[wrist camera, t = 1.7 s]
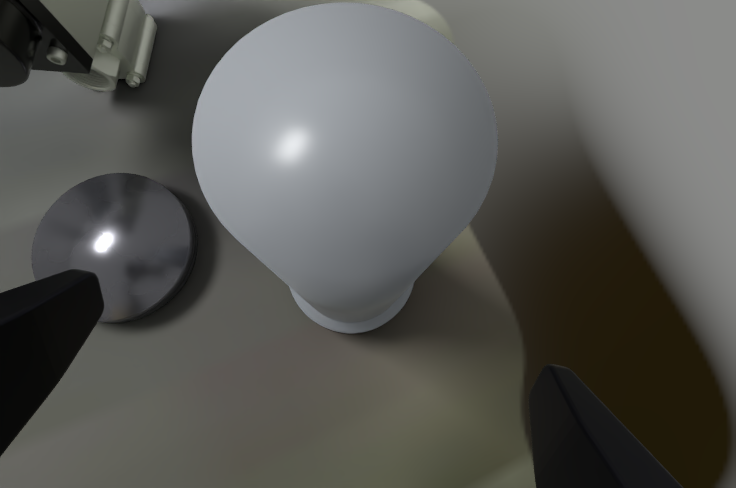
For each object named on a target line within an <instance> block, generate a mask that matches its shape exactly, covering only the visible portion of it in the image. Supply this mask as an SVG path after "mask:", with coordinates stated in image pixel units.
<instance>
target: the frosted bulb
mask: <svg viewBox="0 0 736 488" xmlns="http://www.w3.org/2000/svg"><path fill="white" fill-rule="evenodd" d="M497 148H498V135H497V123H496V118H495V114H494V109H493V105H492V103H491V100H490V97H489V94H488V92H487V89H486V88H485V86H484V84H483V82H482V80H481V78H480V76H479V74H478V73H477V71H476V70H475V68H474V67H473V66H472V64H471V63H470V61H469V60H468V59H467V58H466V57H465V56H464V55H463V53H462V52H461V51H460V50H459V49H458V48H457V47H456V46H455V45H454V44H453V43H452V42H450V41H449V40H448V39H447V38H446V37H445V36H443V35H442V34H441V33H439V32H438V31H436V30H435V29H433V28H432V27H430V26H429V25H427V24H425V23H423V22H421V21H419V20H417V19H415V18H413V17H411V16H409V15H406V14H403V13H401V12H398V11H395V10H392V9H388V8H384V7H380V6H376V5H369V4H362V3H342V2H340V3H327V4H319V5H313V6H308V7H303V8H300V9H297V10H293V11H290V12H287V13H284V14H282V15H280V16H278V17H275V18H273V19H271V20H269V21H267V22H265V23H264V24H262V25H260V26H259V27H257V28H255V29H253V30H252V31H251V32H250V33H248V34H247V35H246V36H244V37H243V38H242V39H240V40H239V41H238V42H237V43H236V44H235V45H234V46H233V47H232V48H231V49H230V50H229V51H228V52H227V53H226V54H225V55H224V56H223V58H222V59H221V60H220V61H219V63H218V64H217V65H216V67H215V68H214V70H213V71H212V73H211V75H210V76H209V78H208V80H207V81H206V83H205V86H204V88H203V90H202V93H201V95H200V97H199V100H198V104H197V107H196V111H195V115H194V121H193V129H192V155H193V160H194V166H195V172H196V175H197V178H198V181H199V184H200V187H201V190H202V192H203V194H204V196H205V198H206V200H207V202H208V204H209V206H210V208H211V209H212V211H213V212H214V213H215V215H216V216H217V218H218V219H219V221H220V222H221V223H222V225H223V226H224V227H225V228H226V229H227V230H228V231H229V232H230V233H231V234H232V235H233V236H234V237H235V238H236V239H237V240H238V241H239V242H240V243H241V244H242V245H243V246H245V247H246V248H247V249H248V250H249V251H250V252H251V253H252V254H253V255H255V256H256V257H257V258H258V259H259V260H260V261H261V262H262V263H264V264H265V265H266V266H267V267H268V268H269V269H270V270H271V271H273V272H274V273H275V274H276V275H277V276H278V277H279V278H280V279H282V280H283V281H284V282H285V283H286V284H287V285H288V286H289V287H290V290H291V293H292V295H293V297H294V299H295V301H296V303H297V304H298V306H299V307H300V308H301V310H302V311H303V312H304V313H305V314H306V315H307V316H308V317H309V318H311V319H312V320H313V321H315V322H316V323H318V324H319V325H321V326H323V327H325V328H327V329H329V330H332V331H336V332H339V333H346V334H356V333H363V332H367V331H371V330H373V329H375V328H378V327H380V326H381V325H383V324H385V323H386V322H388V321H389V320H390V319H391V318H393V317H394V316H395V315H396V314H397V313H398V312H399V311H400V310H401V309H402V307H403V306H404V305H405V303H406V301H407V300H408V298H409V296H410V294H411V291H412V289H413V285H414V281H415V280H416V279H417V278H418V277H419V276H420V275H421V274H422V273H423V272H424V271H425V270H426V269H427V268H428V266H429V265H430V264H431V263H432V262H433V261H434V260H435V259H436V258H437V257H438V256H439V255H440V254H441V253H442V252H443V251H444V250H445V249H446V248H447V247H448V246H449V245H450V243H451V242H452V241H453V240H454V239H455V238H456V237H457V236H458V235H459V234H460V233H461V232H462V231H463V230H464V229H465V228H466V226H467V225H468V224H469V222H470V221H471V220H472V218H473V217H474V216H475V214H476V213H477V212H478V210H479V208H480V206H481V204H482V202H483V201H484V199H485V197H486V195H487V192H488V190H489V187H490V184H491V182H492V179H493V175H494V170H495V166H496V160H497V150H498V149H497Z"/></svg>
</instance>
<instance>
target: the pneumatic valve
mask: <svg viewBox="0 0 736 488" xmlns="http://www.w3.org/2000/svg"><path fill="white" fill-rule="evenodd" d="M156 31H157V25H156V23H155V22H154V19H153V18H152V17H151V16H150V15H148V14H145V12H144V9H143V7H142V6H141V4H140V3H139V1H138V0H0V87H11V86H17V85H20V84H23V83H24V82H25V81H26V80H27V79H28V77H29V74H30V71H31V69H33V70H46V71H58V72H62V73H63V74H64V75H65V76H66V77H67V78H69V79H70V80H72V81H73V82H75V83H77V84H79V85H81V86H83V87H86V88H89V89H92V90H96V91H112V90H115V89H116V86H117V82H118V79H126V83H128V85H129V86H131V87H138V86H139V83H143V82H145V80H146V75H147V71H148V66H149V62H150V57H151V53H152V48H153V44H154V40H155V35H156Z"/></svg>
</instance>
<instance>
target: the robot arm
mask: <svg viewBox="0 0 736 488" xmlns="http://www.w3.org/2000/svg"><path fill="white" fill-rule="evenodd" d="M103 311H104V300H103V296H102V291H101V287H100V283H99V279H98V277H97V275H96V274H95V273H93V272H90V271H85V270H80V269H70V270H67V271H64V272H61V273H58V274H55V275H52V276H49V277H46V278H43V279H40V280H37V281H35V282H32V283H29V284H26V285H23V286H20V287H17V288H14V289H11V290H8V291H5V292H2V293H0V456H1V455H2V454H3V453H4V451H5V450H6V449H7V448H8V446H9V445H10V444H11V442H12V441H13V440H14V439H15V437H16V436H17V435H18V434H19V432H20V431H21V430H22V429H23V427H24V426H25V425H26V423H27V422H28V421H29V420H30V418H31V417H32V416H33V415H34V413H35V412H36V411H37V409H38V408H39V407H40V406H41V404H42V403H43V402H44V401H45V399H46V398H47V397H48V396H49V394H50V393H51V392H52V390H53V389H54V388H55V386H56V385H57V384H58V382H59V381H60V379H61V378H62V376H63V375H64V373H65V372H66V371H67V369H68V367H69V366H70V364H71V363H72V361H73V360H74V358H75V356H76V355H77V353H78V352H79V350H80V349H81V347H82V346H83V344H84V342H85V341H86V339H87V338H88V336H89V335H90V333H91V331H92V330H93V328H94V327H95V325H96V324H97V322H98V321H99V319H100V317H101V316H102V313H103ZM529 412H530V425H531V437H532V451H533V463H534V473H535V482H536V488H683V487H682V486H681V485H680V484H679V483H678V482H677V481H676V480H675V479H674V478H673V477H672V476H671V474H669V472H668V471H667V470H666V469H665V468H664V467H663V466H662V465H661V464H660V463H659V462H658V461H657V460H656V459H655V458H654V457H653V456H652V455H651V453H649V451H648V450H647V449H646V448H645V447H644V446H643V445H642V444H641V443H640V442H639V441H638V440H637V439H636V438H635V437H634V436H633V434H631V432H630V431H629V430H628V429H627V428H626V427H625V426H624V425H623V424H622V423H621V422H620V421H619V420H618V419H617V418H616V417H615V416H614V414H613V413H612V412H611V411H610V410H609V409H608V408H607V407H606V406H605V405H604V404H603V403H602V402H601V401H600V400H599V399H598V398H597V397H596V396H595V394H593V392H592V391H591V390H590V389H589V388H588V387H587V386H586V385H585V384H584V383H583V382H582V381H581V380H580V379H579V378H578V377H577V376H576V374H575V373H574V372H572V371H571V370H570V369H569V368H567V367H563V366H558V365H553V364H547V365H546V366H544V368H543V369H542V371H541V373H540V374H539V376H538V378H537V380H536V381H535V383H534V385H533V387H532V389H531V391H530V394H529Z"/></svg>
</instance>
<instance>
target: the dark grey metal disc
mask: <svg viewBox="0 0 736 488" xmlns="http://www.w3.org/2000/svg"><path fill="white" fill-rule="evenodd" d="M196 255H197V233H196V227H195V224H194V221H193V219H192V217H191V214H190V212H189V211H188V209H187V208H186V207H185V205H184V204H183V203H182V202H181V201H180V200H179V199H178V198H177V197H176V196H175V195H174V194H172V193H171V192H170V191H169V190H167V189H166V188H165V187H164V186H162V185H161V184H159V183H158V182H156V181H154V180H152V179H149V178H147V177H144V176H140V175H136V174H129V173H113V174H106V175H101V176H97V177H94V178H91V179H88V180H86V181H84V182H82V183H80V184H78V185H76V186H74V187H73V188H71V189H70V190H68V191H67V192H66V193H64V194H63V195H62V196H61V197H60V198H59V199H58V200H57V201H56V202H55V203H54V204H53V205H52V206H51V207H50V209H49V210H48V211H47V213H46V214H45V216H44V217H43V219H42V220H41V222H40V225H39V227H38V229H37V231H36V234H35V237H34V242H33V246H32V268H33V273H34V277H35V280H36V281H37V280H40V279H43V278H46V277H49V276H52V275H55V274H58V273H61V272H64V271H67V270H70V269H80V270H85V271H90V272H93V273H95V274H96V275H97V277H98V279H99V283H100V287H101V291H102V296H103V300H104V311H103V313H102V316H101V317H100V319H99V321H98V322H105V323H120V322H128V321H132V320H136V319H139V318H142V317H145V316H147V315H149V314H151V313H153V312H155V311H157V310H158V309H160V308H161V307H163V306H164V305H166V304H167V303H168V302H169V301H170V300H171V299H172V298H174V296H175V295H176V294H177V293H178V292H179V291H180V290H181V288H182V287H183V285H184V284H185V283H186V281H187V279H188V277H189V275H190V274H191V271H192V269H193V266H194V263H195V259H196Z"/></svg>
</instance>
